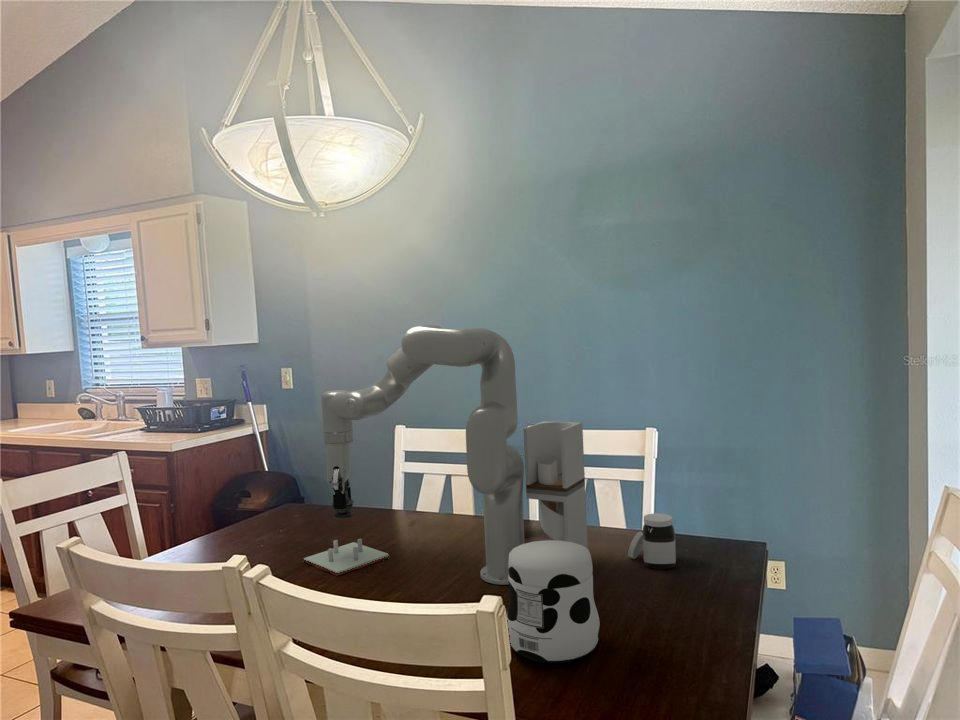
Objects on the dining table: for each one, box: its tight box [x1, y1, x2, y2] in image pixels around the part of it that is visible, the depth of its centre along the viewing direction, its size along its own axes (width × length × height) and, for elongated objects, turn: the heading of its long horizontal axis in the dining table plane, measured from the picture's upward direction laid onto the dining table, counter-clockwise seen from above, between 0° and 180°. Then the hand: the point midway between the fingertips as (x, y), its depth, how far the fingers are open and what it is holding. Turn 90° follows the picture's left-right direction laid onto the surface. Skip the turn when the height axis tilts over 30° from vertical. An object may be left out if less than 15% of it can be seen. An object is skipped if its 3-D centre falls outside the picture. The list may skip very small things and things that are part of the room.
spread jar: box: [627, 513, 677, 570], centre depth 165 cm, size 12×11×12 cm
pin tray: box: [303, 538, 390, 573], centre depth 178 cm, size 16×16×4 cm
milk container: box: [506, 539, 601, 664], centre depth 125 cm, size 17×17×18 cm
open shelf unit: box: [522, 420, 589, 550], centre depth 166 cm, size 11×11×35 cm
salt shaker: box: [330, 479, 354, 520], centre depth 177 cm, size 6×6×12 cm
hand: (342, 504), depth 177 cm, fingers closed on salt shaker, 5 cm apart
